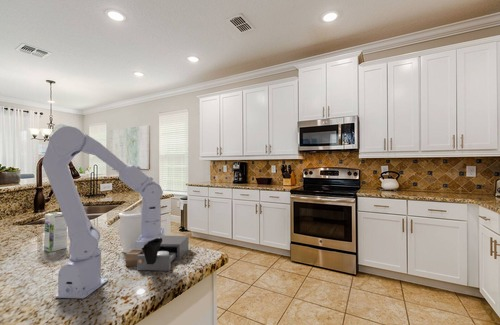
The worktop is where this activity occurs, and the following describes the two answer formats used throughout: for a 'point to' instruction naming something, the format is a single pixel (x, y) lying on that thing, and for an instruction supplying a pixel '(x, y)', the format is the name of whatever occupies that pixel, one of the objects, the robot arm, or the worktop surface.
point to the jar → (129, 229)
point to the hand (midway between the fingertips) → (151, 263)
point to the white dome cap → (163, 253)
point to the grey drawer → (156, 262)
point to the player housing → (175, 245)
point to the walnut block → (132, 257)
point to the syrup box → (55, 232)
